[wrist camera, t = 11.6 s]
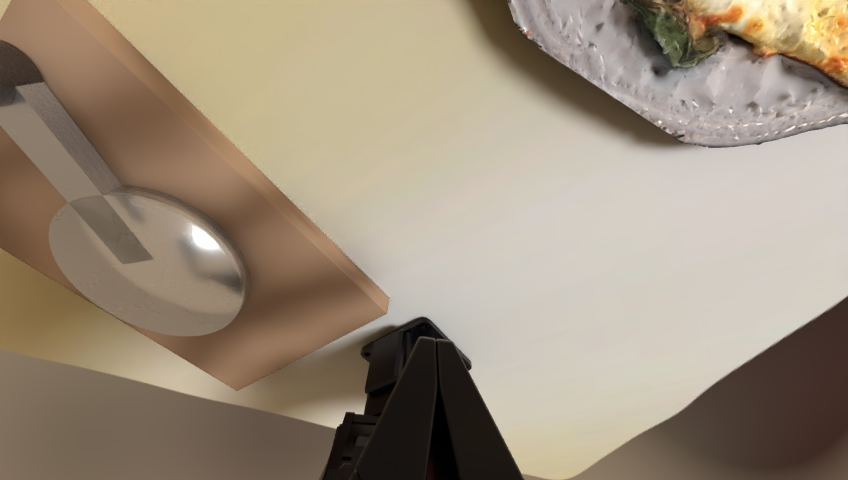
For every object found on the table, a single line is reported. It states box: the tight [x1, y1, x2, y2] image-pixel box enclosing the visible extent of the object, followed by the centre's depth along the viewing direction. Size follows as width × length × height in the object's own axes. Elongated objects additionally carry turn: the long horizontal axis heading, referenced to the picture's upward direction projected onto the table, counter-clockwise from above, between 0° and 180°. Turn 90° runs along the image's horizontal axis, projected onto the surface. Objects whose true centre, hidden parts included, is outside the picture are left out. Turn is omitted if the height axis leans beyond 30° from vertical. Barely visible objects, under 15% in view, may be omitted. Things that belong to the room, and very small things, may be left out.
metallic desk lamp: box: [0, 40, 251, 336], centre depth 15 cm, size 17×10×8 cm, turn 12°
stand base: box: [0, 0, 389, 391], centre depth 21 cm, size 22×16×2 cm
